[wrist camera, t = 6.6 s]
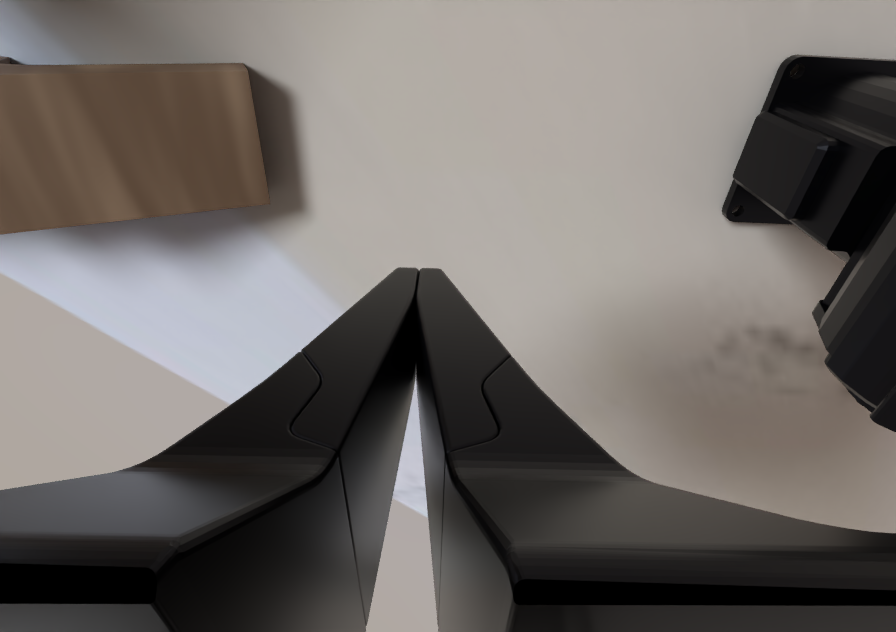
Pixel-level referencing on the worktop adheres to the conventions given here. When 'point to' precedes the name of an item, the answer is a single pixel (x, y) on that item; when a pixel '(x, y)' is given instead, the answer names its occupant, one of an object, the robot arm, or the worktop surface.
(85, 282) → the worktop surface
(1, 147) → the domino
